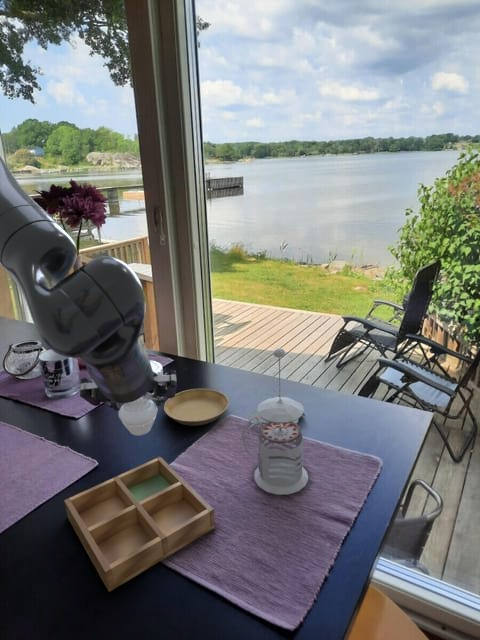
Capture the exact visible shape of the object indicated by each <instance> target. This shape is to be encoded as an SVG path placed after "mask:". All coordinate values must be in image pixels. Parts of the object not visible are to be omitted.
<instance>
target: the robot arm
mask: <svg viewBox="0 0 480 640" xmlns="http://www.w3.org/2000/svg"><path fill="white" fill-rule="evenodd" d="M77 259H78V247H77V244H76V242H75V240H74V239H73V238H72V236H71V235H70V234H69V233H68V232H67V231H66V230H65V229H64V228H63V227H62V226H61V225H60V224H59V223H58V222H57V221H56V220H55V219H54V218H52V216H51V215H50V214H48V213H47V211H45V210H44V208H43V207H41V205H39V203H37V202H36V201H35V200H34V199H33V198H32V197H31V195H30V194H28V193H27V191H26V190H25V189H24V188H23V187H22V186H21V184H20V183H19V181H18V180H17V178H16V177H15V175H14V174H13V173H12V171H11V170H10V168H9V166H8V165H7V163H6V162H5V161H4V159H3V158H2V156H1V155H0V265H1V267H2V268H3V269H4V270H5V271H6V272H7V273H8V275H9V276H10V277H11V278H12V279H13V280H14V283H15V284H16V285H17V287H18V288H19V290H20V292H21V294H22V296H23V298H24V301H25V303H26V306H27V310H28V311H29V314H30V317H31V319H32V322H33V324H34V327H35V328H36V331H37V333H38V334H39V337H40V338H41V340H42V341H43V343H44V344H45V345H46V346H47V348H49V349H50V350H51V351H53V352H54V353H56V354H58V355H59V356H61V357H66V358H71V359H77V358H78V359H80V360H81V362H82V364H84V365H85V367H86V370H87V373H88V374H89V377H90V379H89V378H86V377H83V378H80V381H79V382H80V384H79V397H80V398H82V399H83V400H84V401H86V402H87V403H89V404H90V405H91V406H94V407H98V406H100V405H101V403H104V405H105V406H108V407H109V408H110V409H113V410H114V411H119V410H120V408H121V404H124V403H129V402H133V401H135V400H137V399H139V398H144V399H147V400H151V401H152V400H154V403H155V404H156V406H157V407H161V406H162V404H165V402H166V398H168V399H169V398H173V397H175V394H177V393H176V392H177V388H178V385H177V383H178V382H177V371H176V369H169V370H167V372H166V373H163V375H162V376H158V374H157V373H156V372H153V370H152V367H151V364H150V361H149V360H150V358H149V355H148V351H147V349H146V347H145V345H144V344H143V343H144V342H142V340H141V337H140V336H141V335H142V329H143V324H144V320H145V317H146V310H147V301H146V294H145V290H144V287H143V283H142V282H141V280H140V277H139V276H138V275H137V273H136V272H135V270H134V269H133V268H132V267H131V266H130V265H129V264H128V263H126V262H125V261H124V260H121V259H120V258H118V257H114V256H108V255H103V256H97V257H95V258H92V259H91V260H89V261H87V262H86V263H84V264H83V265H81V266H80V267H78V269H75V270H74V271H73V272H71V271H72V270H73V267H74V266H75V264H76V262H77ZM70 272H71V273H70Z"/></svg>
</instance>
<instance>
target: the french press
mask: <svg viewBox="0 0 480 640" xmlns="http://www.w3.org/2000/svg"><path fill="white" fill-rule="evenodd" d="M273 356H274V357H275V358H278V396H279V397H277V396H273V397H274V398H272V397H269V398H268V399H266V400H264V401H262V402H260V403H259V404H258V405H257V407H256V410H257V413H258V414H259V416H260V417H261V418H262V419H264V420H266V421H267V422H266V423H263V424H261V422H260V423H259V422H258V418H257V417H254V418H257V422H256V423H251V422H250V421H251V420H253V419H254V418H252V419H250V420H249V419H248V421H247V422H246V423H245V424H244V426H243V428H242V431H241V441H242V444H243V446H244V450H245V451H246V453H247V454H248V455H249V456H250V457H251V458H254V459H257V465H258V466H257V468H256V469H255V471H254V476H253V477H254V482H255V483H256V484H257V486H258V487H259V488H260V489H262V490H263V491H265V492H266V493H269V494H273V495H277V496H278V495H291V494H294V493H297V492H298V493H299V492H300V491H301V490H302V489H304V487H306V485H307V483H308V482H309V475H308V471H307V470H306V469H305V468H304V466H303V461H304V460H303V459H304V458H303V455H304V452H303V451H304V437H303V433H302V428H301V426H300V425H299V424H298V422H297V423H295V422H293V421H296V420H297V419H298V420H299V419H301V418H302V414H303V413H304V414H305V410H304V406H303V405H302V404H301V403H300V402H298V401H296V400H294V399H292V398H290V397H285V396H281V358H284V357H286V351H285V349H283V348H281V347H278V348H276V349H274V351H273ZM280 396H281V397H280ZM249 423H251V424H250V426H249V427H248V428H247V426H248V424H249ZM255 425H257V428H258V429H259V434H258V451H255V450H253V449H251V448H249V447H248V446H247V443H246V437H247V434H248V432H249V431H250V429H251V428H252V427H254V426H255ZM246 428H247V430H246ZM245 430H246V431H245ZM266 441H267V442H266ZM288 443H289V444H292V445H294V446H292V445H289V444H288ZM270 444H278V445H280V446H282V447H280V446H278V445H270ZM269 445H270V446H269ZM267 446H268V447H267ZM283 447H285V448H287V449H285V448H283ZM250 452H251V453H255V454H257V456H256V455H252V454H251V453H250Z"/></svg>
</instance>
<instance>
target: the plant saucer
mask: <svg viewBox="0 0 480 640" xmlns="http://www.w3.org/2000/svg"><path fill="white" fill-rule="evenodd" d="M229 404H230V401H229V398H228V396H226V395H225V394H224V393H223V392H221V391H218V390H216V389H210V388H192V389H187V390H186V389H185V390H183V391H180V392H178V393H175V397H173V398H168V399H167V400H165V402H164V405H163V410H164V413H165V414H166V415H167V416H168V417H169V418H170V419H172V420H173V421H175V422H177V423H178V424H181V425H185V426H188V427H189V426H190V427H191V426H192V427H193V426H194V427H196V426H197V427H198V426H203V425H208V424H209V423H212V422H215V421H216V420H217V419H219V418H220V417H221V416H222V415H223V414H224V413H225V412H226V410H227V408H229Z"/></svg>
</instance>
